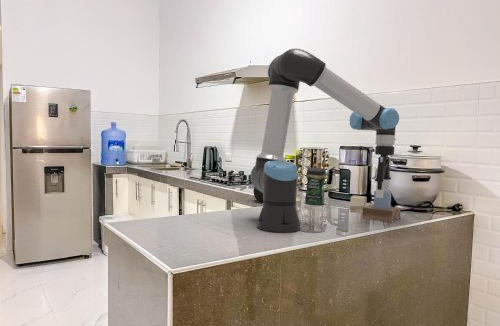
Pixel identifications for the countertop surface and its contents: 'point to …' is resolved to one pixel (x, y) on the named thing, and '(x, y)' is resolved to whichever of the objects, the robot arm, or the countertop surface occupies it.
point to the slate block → (383, 200)
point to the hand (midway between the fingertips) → (382, 196)
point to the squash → (258, 195)
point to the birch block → (357, 204)
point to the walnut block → (381, 213)
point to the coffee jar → (315, 186)
